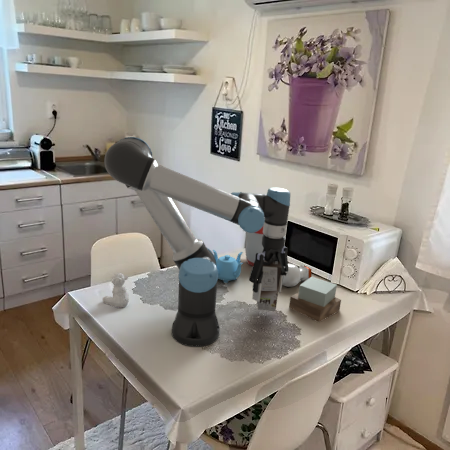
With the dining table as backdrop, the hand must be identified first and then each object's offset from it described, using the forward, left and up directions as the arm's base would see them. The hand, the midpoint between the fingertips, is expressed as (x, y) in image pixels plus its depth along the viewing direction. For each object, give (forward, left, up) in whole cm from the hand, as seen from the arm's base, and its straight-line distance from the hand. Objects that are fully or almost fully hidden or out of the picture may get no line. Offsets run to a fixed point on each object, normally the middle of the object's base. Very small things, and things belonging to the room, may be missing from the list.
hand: (266, 295), depth 147 cm
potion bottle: (+28, +10, -8) cm, 31 cm away
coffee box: (0, 0, -4) cm, 4 cm away
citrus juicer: (+33, +33, -8) cm, 47 cm away
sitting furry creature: (-36, +37, -8) cm, 52 cm away
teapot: (+9, +30, -8) cm, 32 cm away
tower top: (+18, -8, -3) cm, 20 cm away
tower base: (+18, -8, -8) cm, 21 cm away
